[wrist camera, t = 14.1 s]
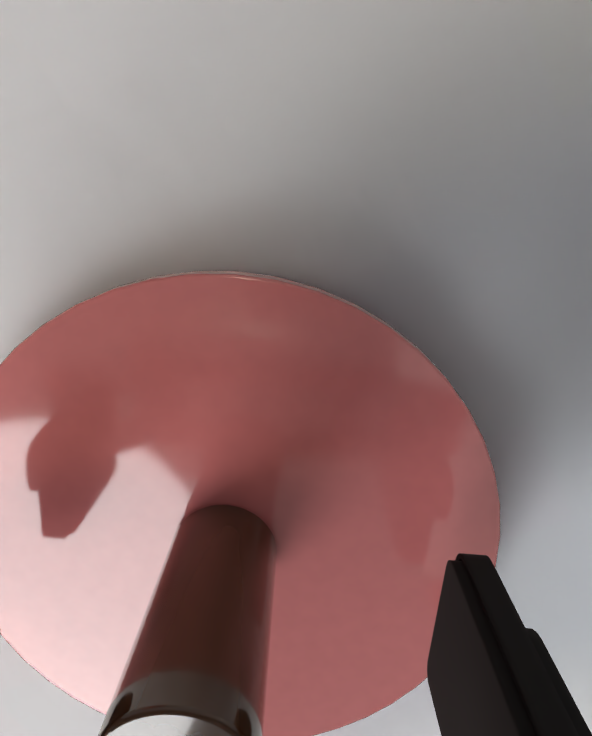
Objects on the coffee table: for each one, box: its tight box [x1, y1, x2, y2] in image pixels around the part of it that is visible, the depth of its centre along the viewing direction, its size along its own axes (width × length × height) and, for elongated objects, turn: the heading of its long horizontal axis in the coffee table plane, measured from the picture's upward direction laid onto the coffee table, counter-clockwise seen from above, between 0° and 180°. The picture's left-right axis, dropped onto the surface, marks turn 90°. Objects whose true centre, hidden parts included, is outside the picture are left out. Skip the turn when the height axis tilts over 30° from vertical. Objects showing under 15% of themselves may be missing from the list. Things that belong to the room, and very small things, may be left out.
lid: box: [0, 271, 500, 736], centre depth 10 cm, size 13×13×6 cm
